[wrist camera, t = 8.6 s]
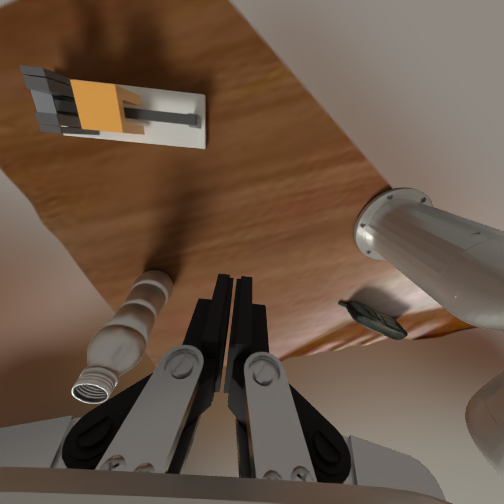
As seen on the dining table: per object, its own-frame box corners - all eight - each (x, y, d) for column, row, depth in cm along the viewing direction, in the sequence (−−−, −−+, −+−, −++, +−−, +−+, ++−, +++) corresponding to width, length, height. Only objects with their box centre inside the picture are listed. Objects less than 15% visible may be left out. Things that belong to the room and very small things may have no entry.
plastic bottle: (133, 282, 39) (44, 397, 21) (153, 258, 37) (71, 365, 19) (163, 300, 41) (105, 417, 24) (183, 278, 39) (135, 390, 22)
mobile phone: (412, 334, 42) (356, 312, 38) (401, 344, 44) (346, 323, 40) (396, 316, 47) (344, 294, 43) (386, 325, 48) (335, 305, 44)
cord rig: (205, 96, 27) (193, 81, 20) (206, 148, 29) (195, 150, 23) (54, 78, 25) (-14, 55, 19) (69, 135, 28) (15, 133, 21)
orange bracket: (139, 95, 25) (114, 84, 20) (144, 134, 27) (123, 132, 22) (104, 91, 24) (70, 79, 20) (111, 131, 26) (82, 128, 21)
